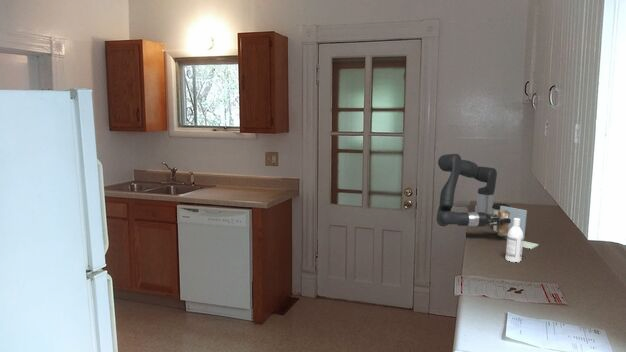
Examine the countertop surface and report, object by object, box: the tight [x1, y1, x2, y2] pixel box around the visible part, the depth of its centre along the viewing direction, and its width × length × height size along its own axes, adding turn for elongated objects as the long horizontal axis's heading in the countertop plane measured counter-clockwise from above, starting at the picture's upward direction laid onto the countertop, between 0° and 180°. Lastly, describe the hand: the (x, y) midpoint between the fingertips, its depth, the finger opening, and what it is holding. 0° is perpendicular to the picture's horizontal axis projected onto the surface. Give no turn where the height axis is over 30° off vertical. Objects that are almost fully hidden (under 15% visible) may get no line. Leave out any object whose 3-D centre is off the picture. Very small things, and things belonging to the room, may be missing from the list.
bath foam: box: [504, 218, 524, 263], centre depth 231 cm, size 7×7×20 cm
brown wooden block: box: [495, 210, 510, 233], centre depth 262 cm, size 4×5×11 cm
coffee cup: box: [492, 202, 510, 233], centre depth 282 cm, size 10×10×15 cm
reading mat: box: [523, 240, 539, 250], centre depth 257 cm, size 9×9×1 cm
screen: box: [497, 206, 528, 241], centre depth 270 cm, size 14×6×16 cm, turn 45°
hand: (508, 219), depth 262 cm, fingers closed on brown wooden block, 4 cm apart
